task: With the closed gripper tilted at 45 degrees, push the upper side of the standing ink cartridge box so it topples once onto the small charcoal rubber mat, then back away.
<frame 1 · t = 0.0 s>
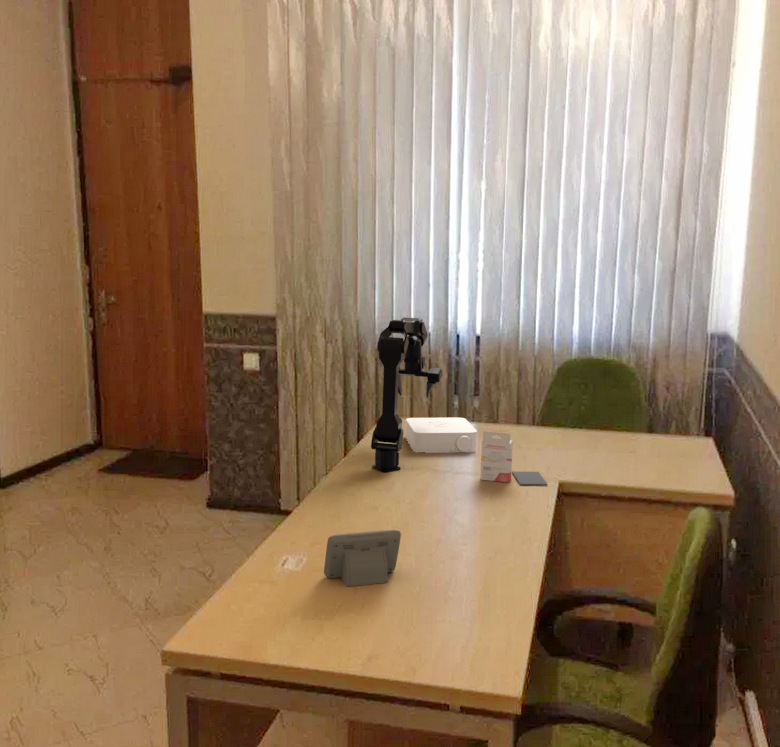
hand: (414, 396, 297), 15 cm above the table, tool pointing down, fingers open, 9 cm apart
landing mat: (529, 479, 260), on the table
projector: (440, 445, 297), on the table
digital clock: (362, 578, 189), on the table
ink cartridge box: (495, 479, 260), on the table
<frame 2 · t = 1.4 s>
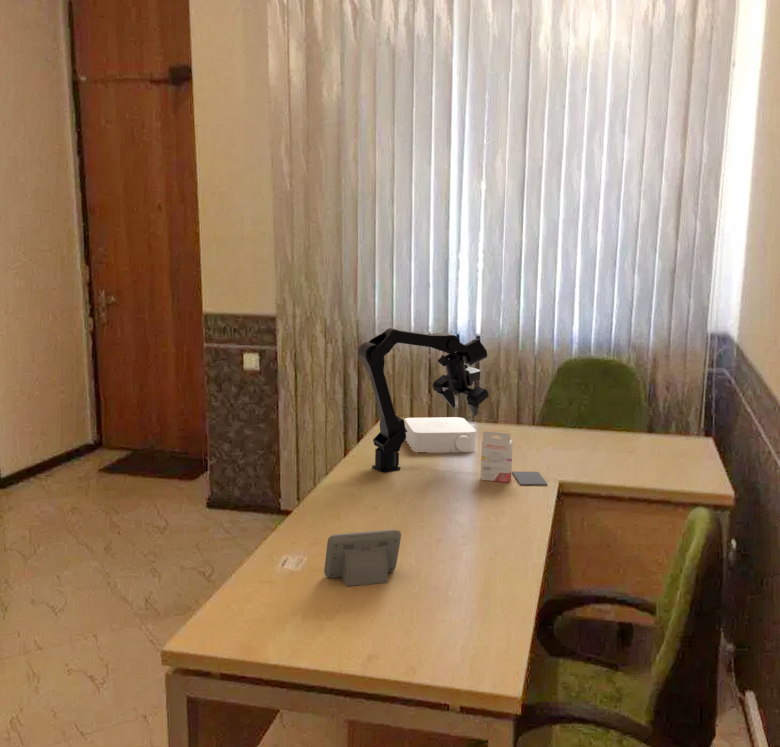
hand: (464, 411, 280), 15 cm above the table, tool tilted 25°, fingers open, 9 cm apart
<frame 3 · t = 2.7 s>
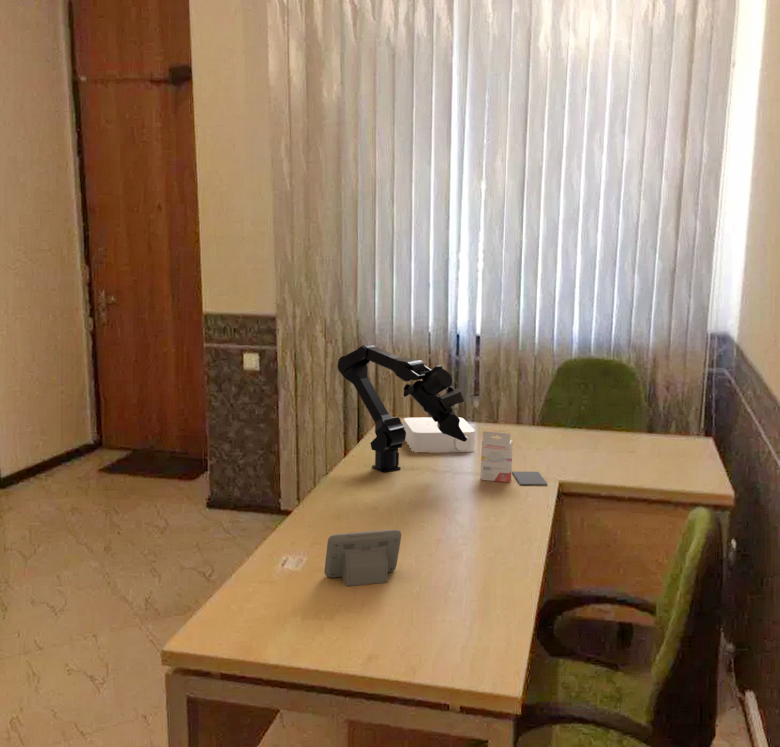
hand: (463, 436, 258), 13 cm above the table, tool tilted 45°, fingers open, 9 cm apart
nothing on the table moved.
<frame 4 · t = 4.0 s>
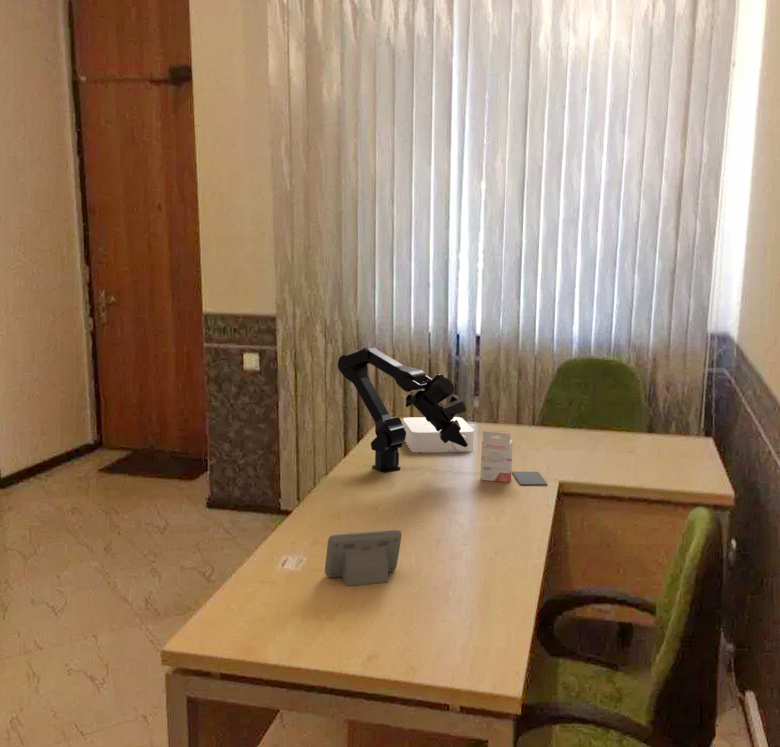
hand: (466, 445, 257), 10 cm above the table, tool tilted 45°, fingers closed
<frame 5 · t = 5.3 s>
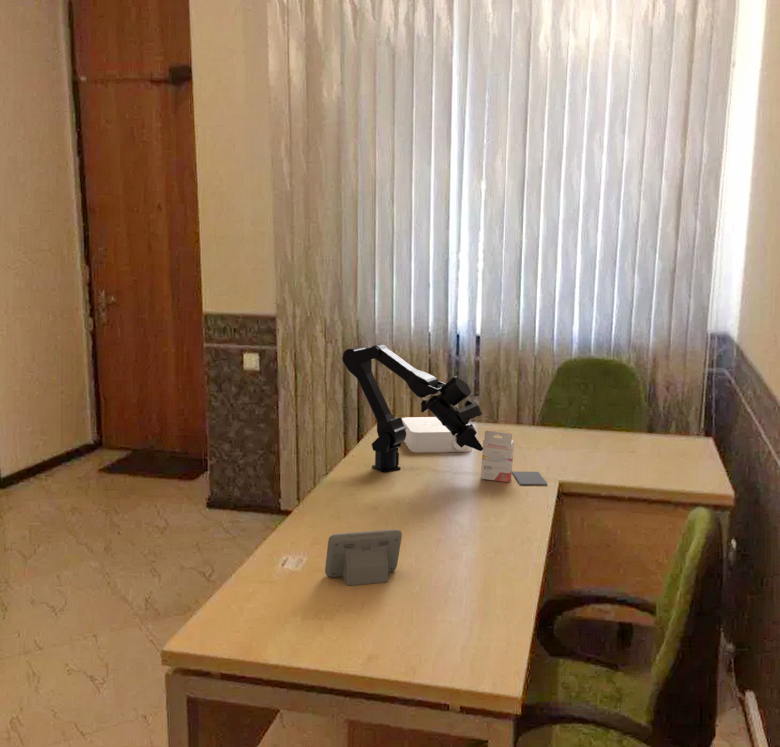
hand: (482, 449, 258), 9 cm above the table, tool tilted 45°, fingers closed
ink cartridge box: (495, 479, 260), on the table, touching gripper
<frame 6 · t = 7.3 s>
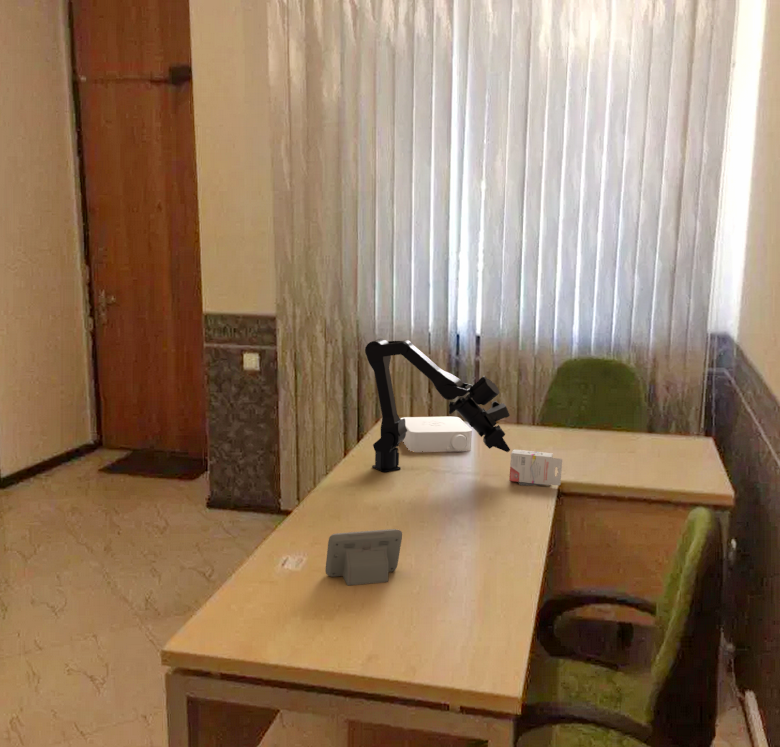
hand: (508, 450, 258), 9 cm above the table, tool tilted 45°, fingers closed
ink cartridge box: (510, 464, 258), point 5 cm above the table, touching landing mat
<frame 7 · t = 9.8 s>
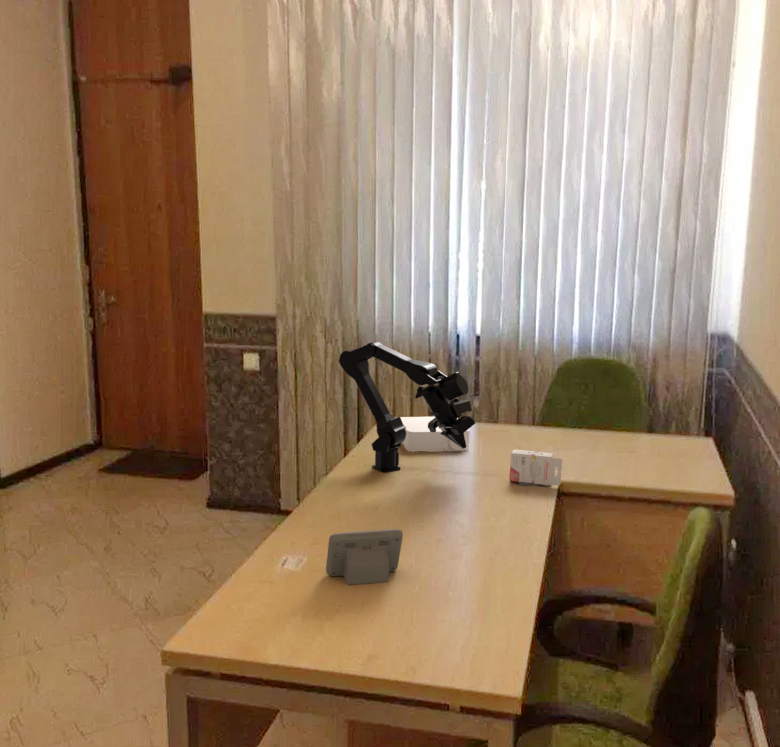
hand: (464, 447, 260), 9 cm above the table, tool tilted 30°, fingers closed
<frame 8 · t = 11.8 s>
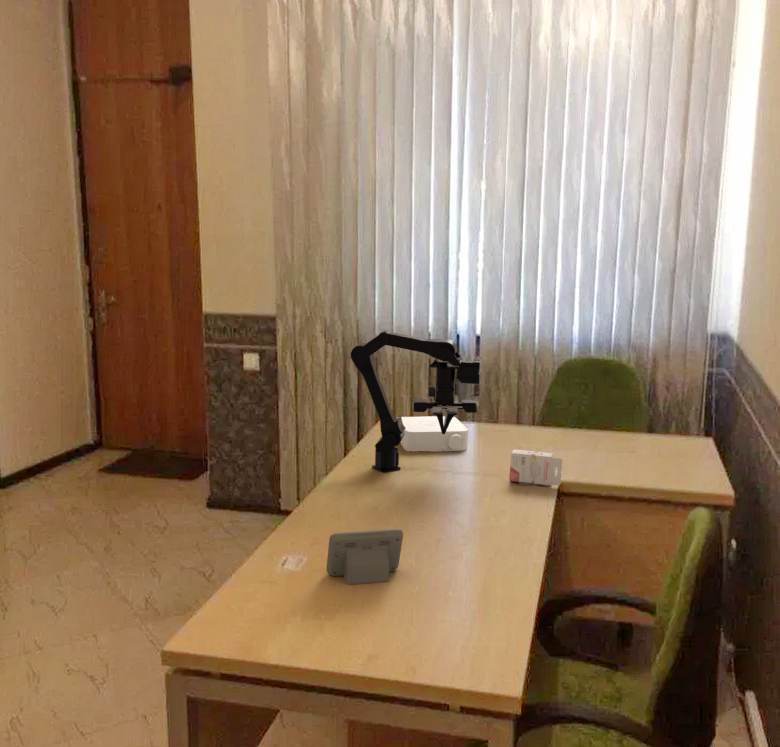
hand: (443, 433, 262), 12 cm above the table, tool pointing down, fingers closed
at the end: ink cartridge box tilted 91°; ink cartridge box touching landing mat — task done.
